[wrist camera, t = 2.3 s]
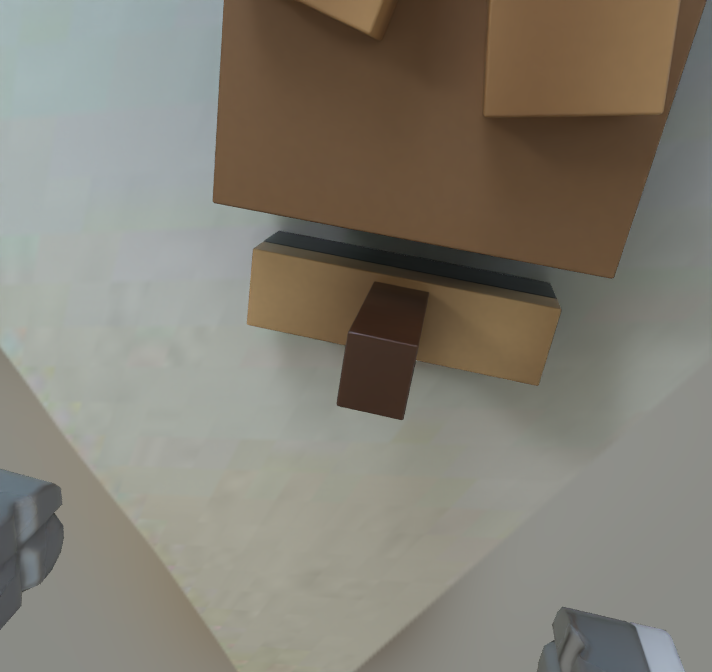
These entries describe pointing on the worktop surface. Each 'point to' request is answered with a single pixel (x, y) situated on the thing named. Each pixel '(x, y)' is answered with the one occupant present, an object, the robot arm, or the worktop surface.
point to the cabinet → (422, 137)
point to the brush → (400, 315)
